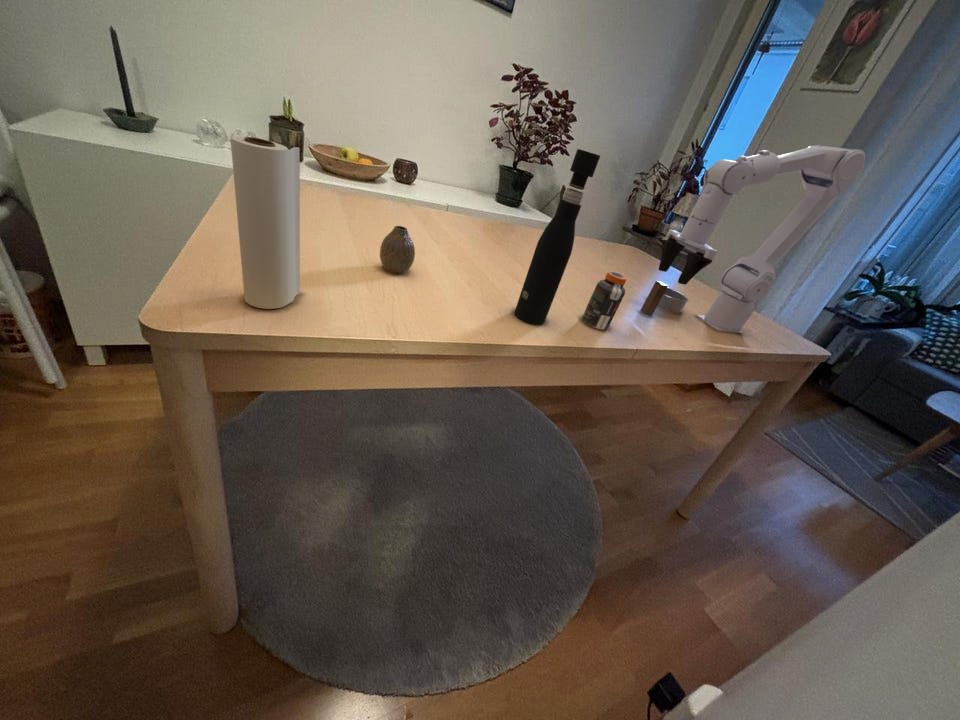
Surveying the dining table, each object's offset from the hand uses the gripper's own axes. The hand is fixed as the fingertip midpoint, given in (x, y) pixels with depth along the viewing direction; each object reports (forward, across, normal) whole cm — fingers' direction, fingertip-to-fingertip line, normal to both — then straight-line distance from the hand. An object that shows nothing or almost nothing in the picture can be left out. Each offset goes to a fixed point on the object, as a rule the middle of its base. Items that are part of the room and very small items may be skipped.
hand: (671, 277), depth 91 cm
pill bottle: (+10, +10, -22) cm, 26 cm away
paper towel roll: (+10, +16, -83) cm, 85 cm away
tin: (+10, -7, +10) cm, 16 cm away
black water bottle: (+10, +10, -38) cm, 41 cm away
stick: (+10, +1, -2) cm, 11 cm away
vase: (+10, -4, -64) cm, 65 cm away
